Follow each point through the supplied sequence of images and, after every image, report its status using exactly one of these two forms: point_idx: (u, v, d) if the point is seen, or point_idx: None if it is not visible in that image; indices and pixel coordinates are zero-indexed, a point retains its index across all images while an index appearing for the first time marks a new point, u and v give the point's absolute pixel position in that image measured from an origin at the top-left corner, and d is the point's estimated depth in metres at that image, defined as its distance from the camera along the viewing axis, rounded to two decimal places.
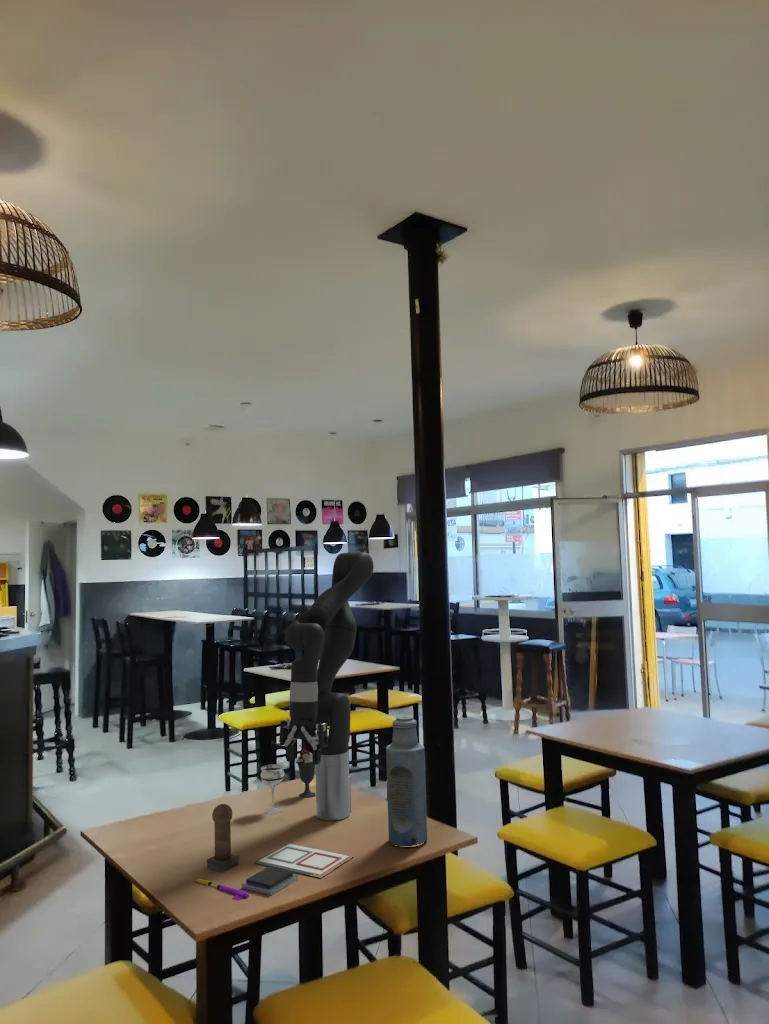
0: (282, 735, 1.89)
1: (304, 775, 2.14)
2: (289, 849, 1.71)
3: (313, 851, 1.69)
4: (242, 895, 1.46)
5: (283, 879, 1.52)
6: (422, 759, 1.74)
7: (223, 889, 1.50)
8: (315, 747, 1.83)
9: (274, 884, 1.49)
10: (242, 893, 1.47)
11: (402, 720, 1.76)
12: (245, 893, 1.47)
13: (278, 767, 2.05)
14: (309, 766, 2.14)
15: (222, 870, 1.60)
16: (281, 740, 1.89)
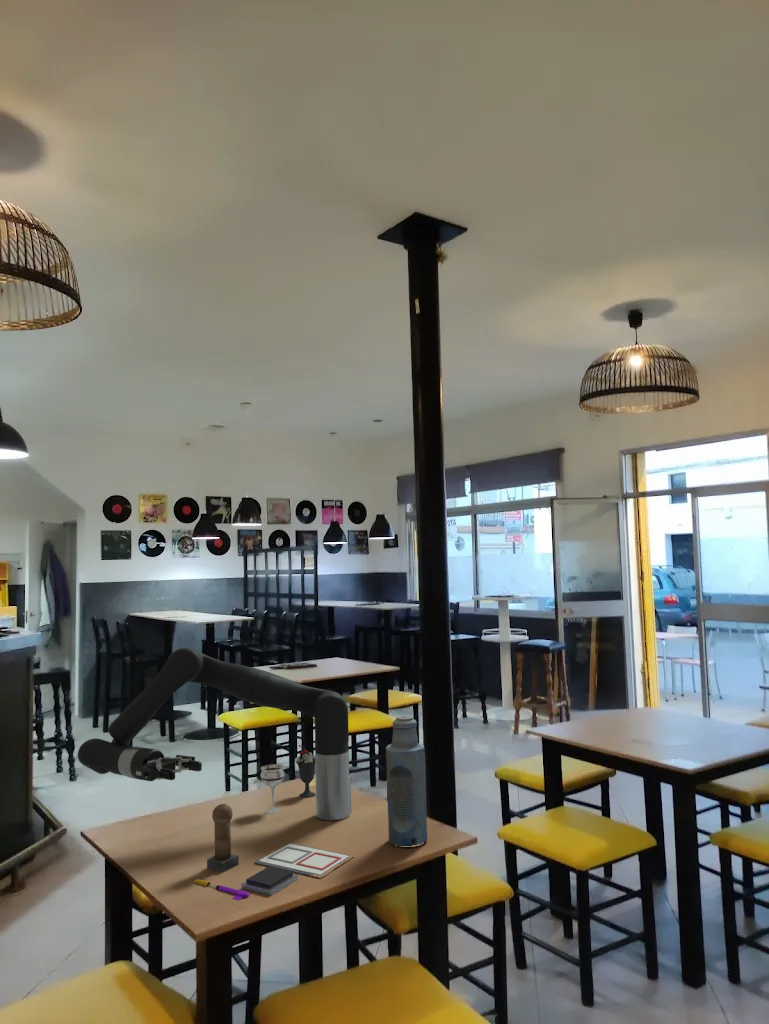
0: (186, 766, 1.79)
1: (304, 775, 2.14)
2: (289, 849, 1.71)
3: (313, 851, 1.69)
4: (243, 895, 1.46)
5: (283, 879, 1.52)
6: (422, 759, 1.74)
7: (222, 889, 1.50)
8: None
9: (274, 884, 1.49)
10: (242, 893, 1.47)
11: (402, 720, 1.76)
12: (245, 893, 1.47)
13: (278, 767, 2.05)
14: (309, 766, 2.14)
15: (222, 870, 1.60)
16: None
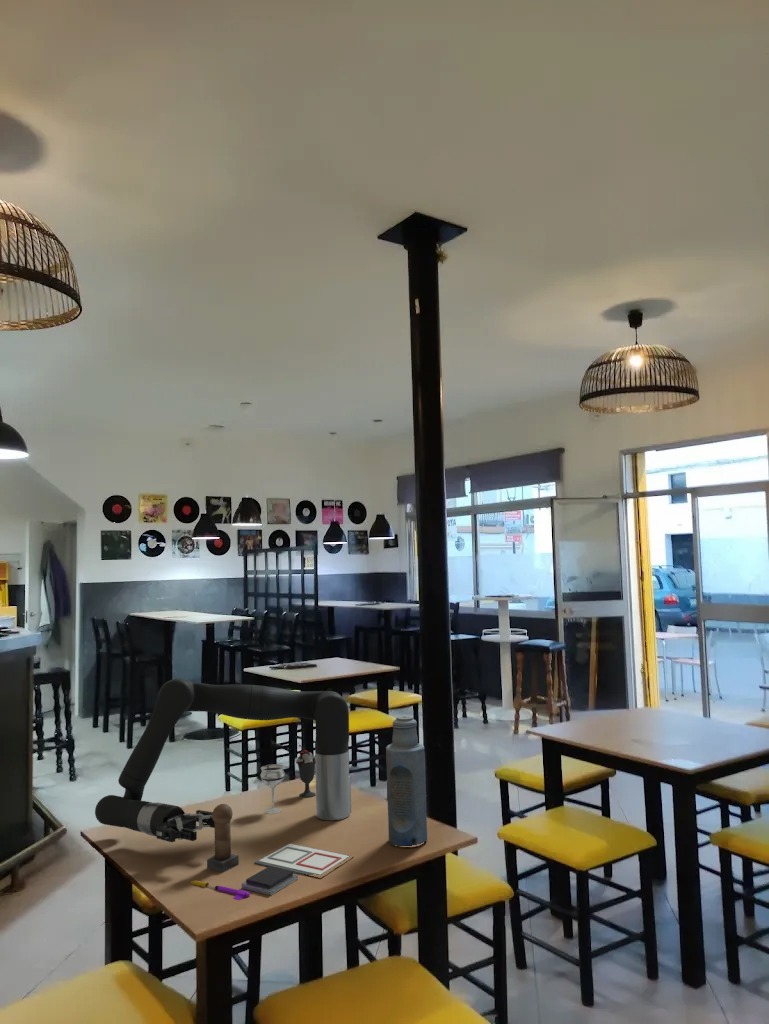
0: None
1: (304, 775, 2.14)
2: (289, 849, 1.71)
3: (313, 851, 1.69)
4: (243, 895, 1.46)
5: (283, 879, 1.52)
6: (422, 759, 1.74)
7: (222, 890, 1.50)
8: None
9: (274, 884, 1.49)
10: (243, 893, 1.47)
11: (402, 720, 1.76)
12: (246, 893, 1.47)
13: (278, 767, 2.05)
14: (309, 766, 2.14)
15: (222, 870, 1.60)
16: None
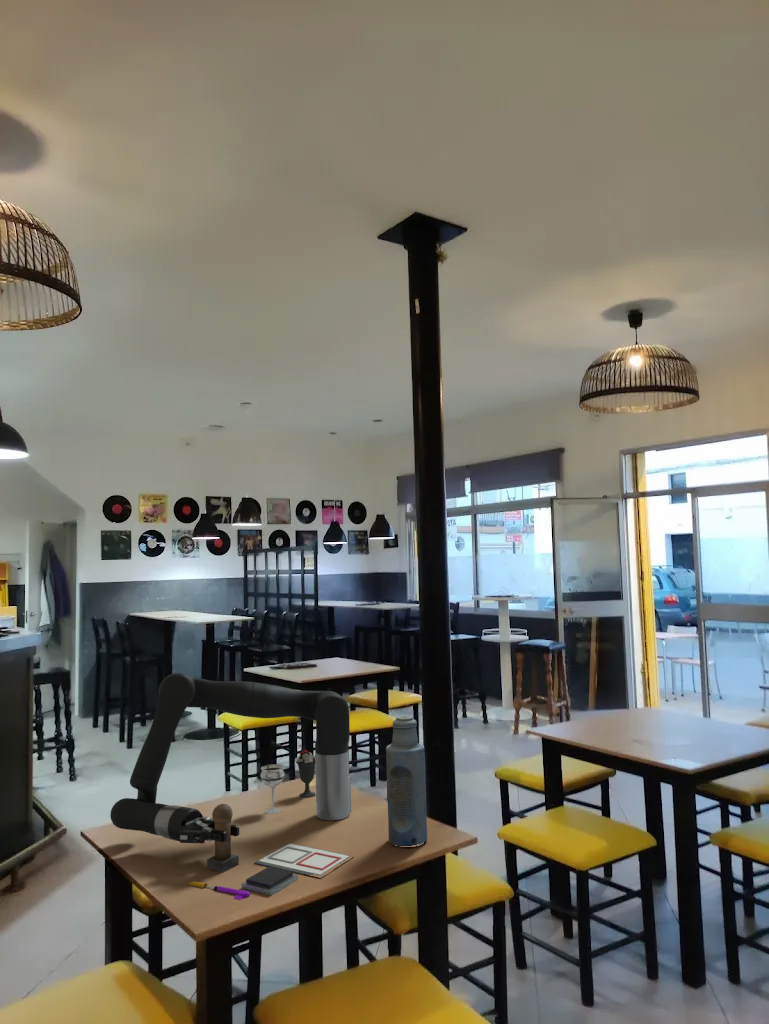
0: None
1: (304, 775, 2.14)
2: (289, 849, 1.71)
3: (313, 851, 1.69)
4: (244, 895, 1.46)
5: (283, 879, 1.52)
6: (422, 759, 1.74)
7: (221, 890, 1.50)
8: None
9: (274, 884, 1.49)
10: (243, 892, 1.47)
11: (402, 720, 1.76)
12: (246, 892, 1.47)
13: (278, 767, 2.05)
14: (309, 766, 2.14)
15: (222, 870, 1.60)
16: None
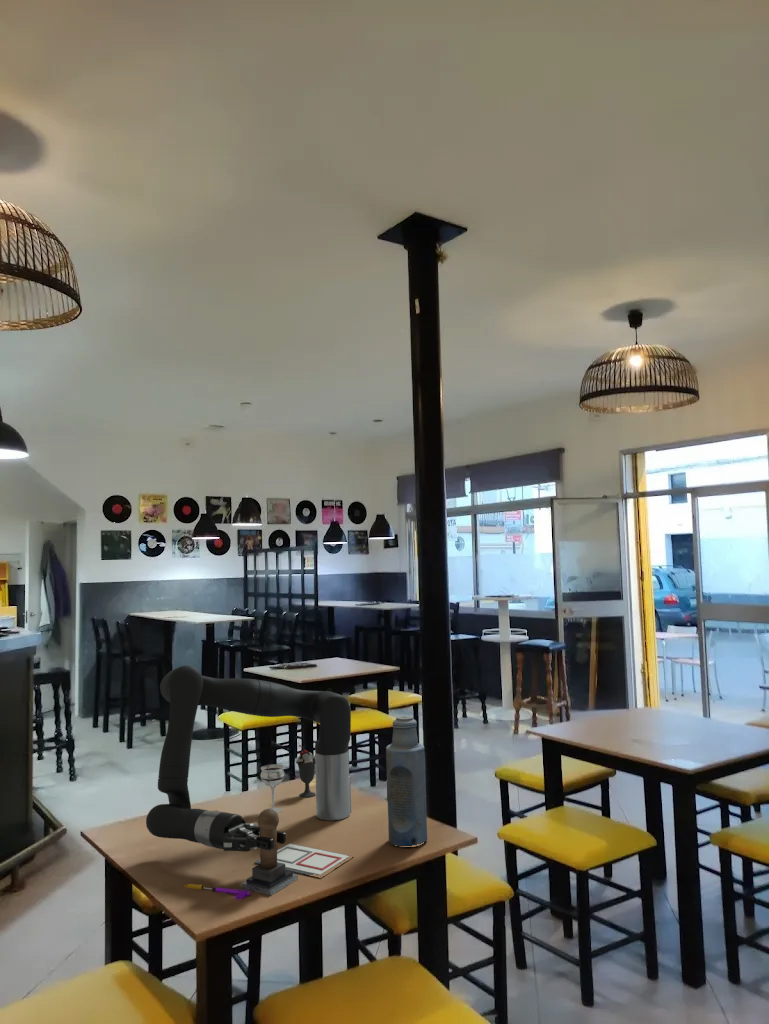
0: None
1: (304, 775, 2.14)
2: (289, 849, 1.71)
3: (313, 851, 1.69)
4: (244, 894, 1.47)
5: (283, 879, 1.52)
6: (422, 759, 1.74)
7: (220, 891, 1.49)
8: None
9: (274, 884, 1.49)
10: (244, 892, 1.47)
11: (402, 720, 1.76)
12: (247, 891, 1.47)
13: (278, 767, 2.05)
14: (309, 766, 2.14)
15: (269, 880, 1.50)
16: None
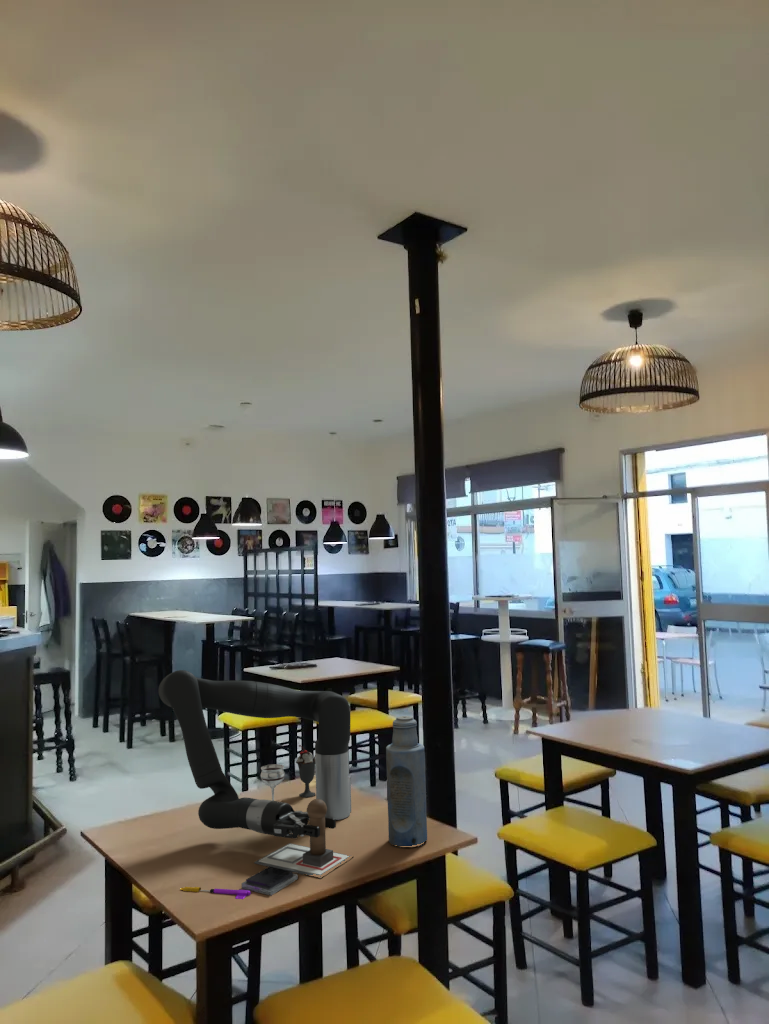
0: None
1: (304, 775, 2.14)
2: (289, 849, 1.71)
3: None
4: (245, 894, 1.47)
5: (283, 879, 1.52)
6: (422, 759, 1.74)
7: (219, 892, 1.49)
8: None
9: (274, 884, 1.49)
10: (244, 892, 1.47)
11: (402, 720, 1.76)
12: (247, 891, 1.48)
13: (278, 767, 2.05)
14: (309, 766, 2.14)
15: (319, 865, 1.60)
16: None
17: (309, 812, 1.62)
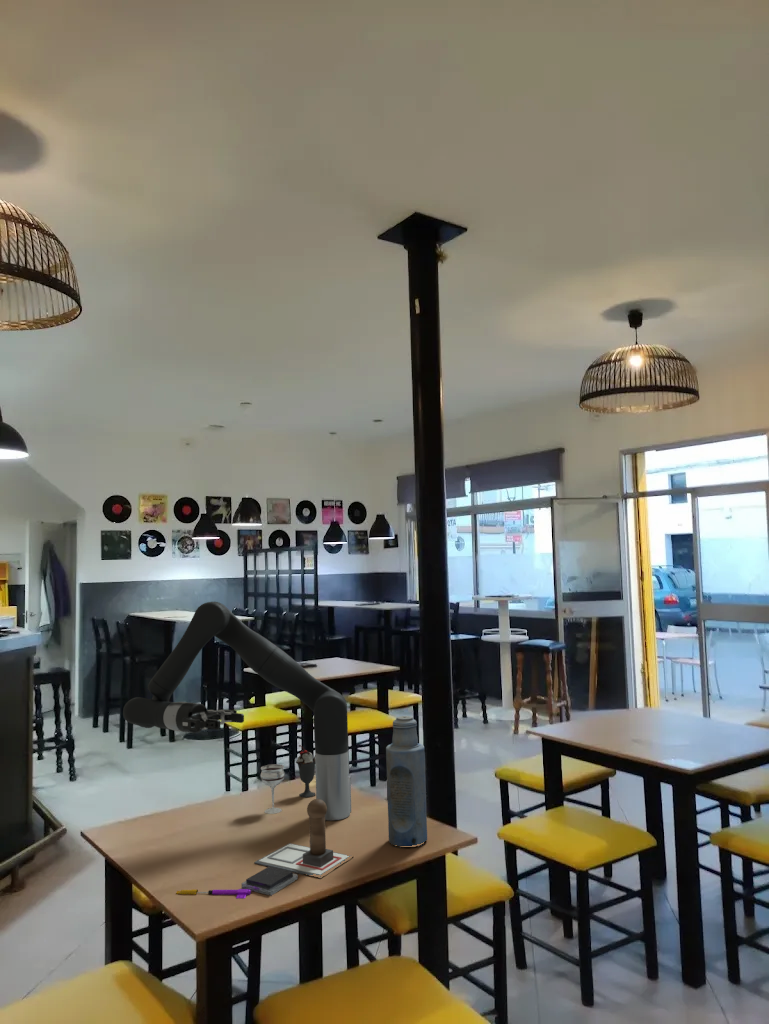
0: (228, 719, 1.87)
1: (304, 775, 2.14)
2: (289, 849, 1.71)
3: None
4: (246, 893, 1.47)
5: (283, 879, 1.52)
6: (422, 759, 1.74)
7: (218, 893, 1.48)
8: (204, 729, 1.77)
9: (274, 884, 1.49)
10: (245, 891, 1.48)
11: (402, 720, 1.76)
12: (248, 890, 1.48)
13: (278, 767, 2.05)
14: (309, 766, 2.14)
15: (319, 865, 1.60)
16: None
17: (309, 812, 1.62)
